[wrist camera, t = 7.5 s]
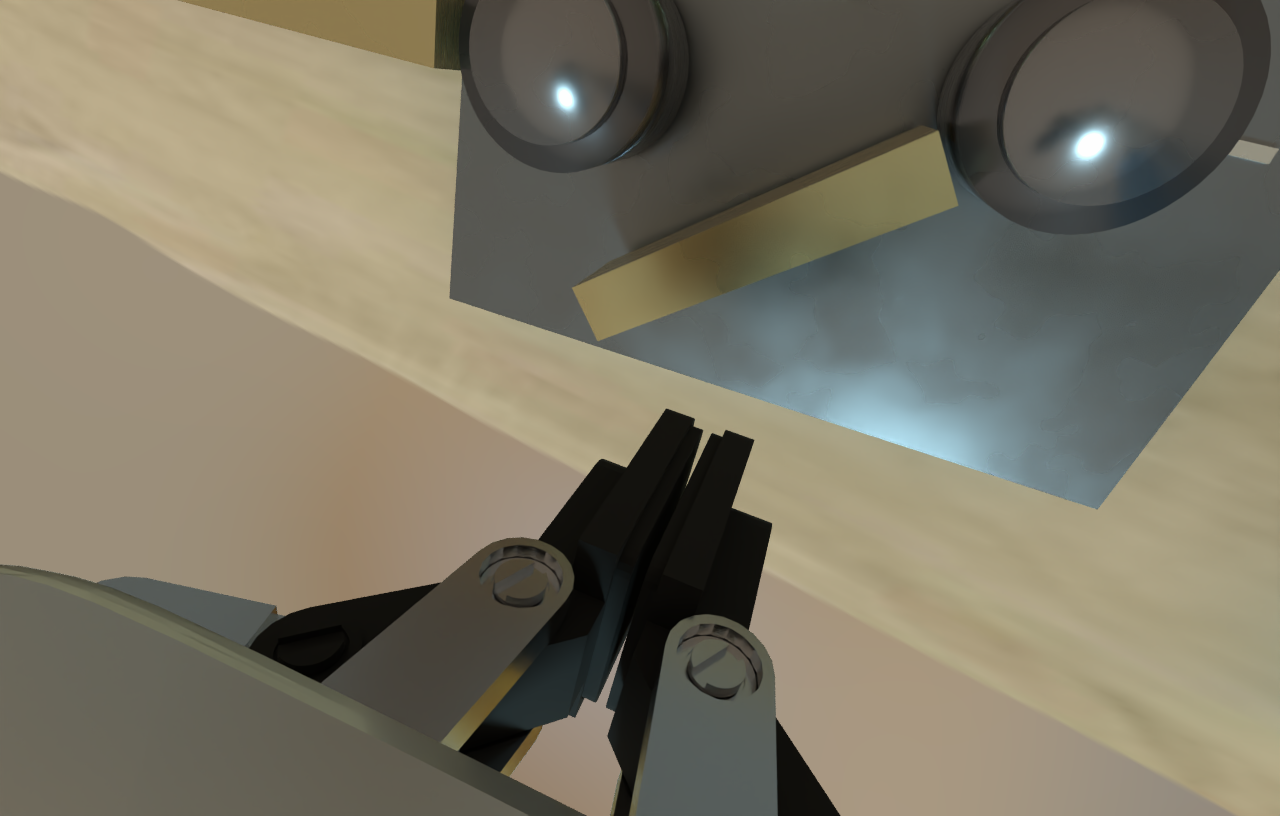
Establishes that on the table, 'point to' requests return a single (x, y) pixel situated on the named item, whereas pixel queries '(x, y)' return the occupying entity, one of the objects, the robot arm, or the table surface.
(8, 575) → the robot arm
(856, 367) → the control panel
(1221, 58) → the knob
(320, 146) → the table surface
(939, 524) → the table surface
